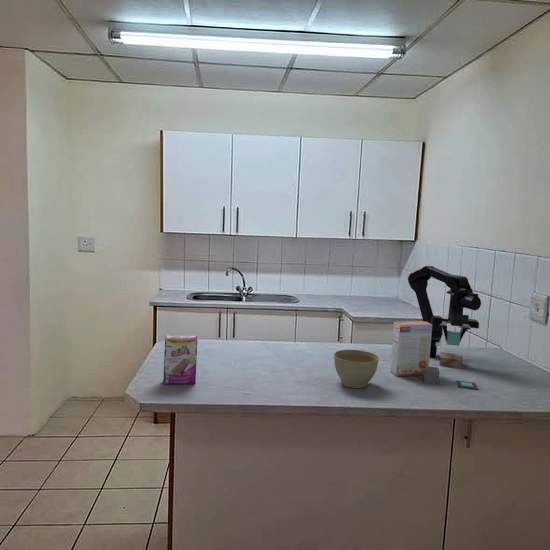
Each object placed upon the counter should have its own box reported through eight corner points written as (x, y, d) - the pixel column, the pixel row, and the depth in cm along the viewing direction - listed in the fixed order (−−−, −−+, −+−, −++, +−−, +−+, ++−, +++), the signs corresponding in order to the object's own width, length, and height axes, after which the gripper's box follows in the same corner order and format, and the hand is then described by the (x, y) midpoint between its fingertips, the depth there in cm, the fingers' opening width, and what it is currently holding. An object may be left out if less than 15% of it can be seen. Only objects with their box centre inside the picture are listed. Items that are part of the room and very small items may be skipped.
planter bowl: (340, 374, 193) (342, 346, 192) (381, 382, 186) (384, 354, 185) (325, 385, 179) (327, 356, 178) (368, 395, 172) (371, 364, 171)
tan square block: (439, 366, 212) (440, 357, 212) (439, 360, 220) (440, 352, 220) (461, 369, 209) (462, 360, 209) (461, 363, 218) (462, 355, 217)
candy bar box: (163, 385, 171) (164, 338, 169) (163, 380, 176) (164, 335, 174) (196, 384, 173) (197, 338, 171) (195, 379, 178) (196, 334, 176)
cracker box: (420, 371, 203) (425, 320, 200) (428, 375, 197) (433, 324, 195) (389, 371, 200) (393, 320, 197) (396, 376, 194) (400, 324, 191)
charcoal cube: (424, 382, 189) (425, 369, 188) (423, 378, 194) (424, 366, 193) (438, 384, 188) (439, 371, 187) (437, 380, 193) (438, 367, 192)
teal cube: (446, 344, 212) (448, 333, 211) (445, 341, 217) (446, 330, 216) (459, 345, 211) (460, 334, 210) (457, 343, 216) (459, 331, 215)
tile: (458, 387, 185) (458, 386, 185) (455, 381, 192) (455, 380, 192) (478, 389, 184) (478, 388, 184) (475, 383, 191) (475, 382, 191)
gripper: (435, 306, 206) (431, 343, 208) (483, 311, 202) (478, 348, 204) (433, 302, 217) (429, 337, 219) (478, 306, 212) (474, 342, 214)
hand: (452, 341), depth 214 cm, fingers closed on teal cube, 5 cm apart
